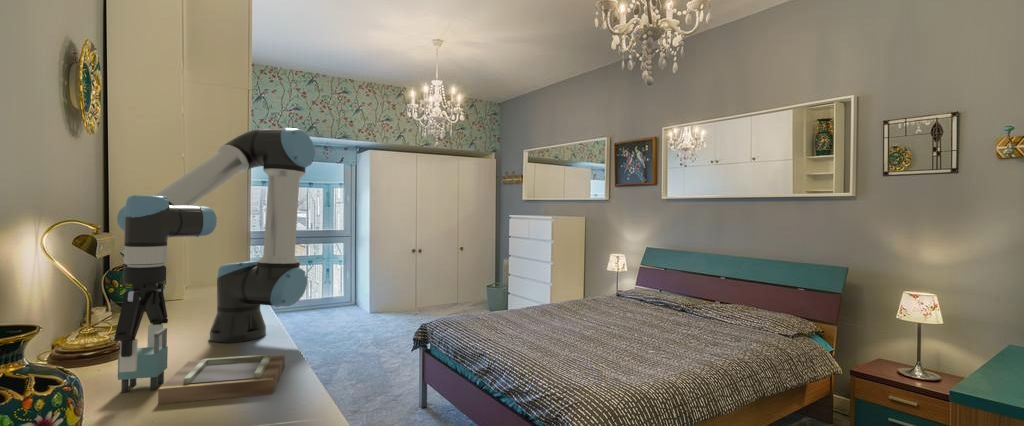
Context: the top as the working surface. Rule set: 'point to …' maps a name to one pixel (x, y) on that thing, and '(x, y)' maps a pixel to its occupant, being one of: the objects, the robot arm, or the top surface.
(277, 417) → the top surface
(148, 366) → the light blue chair
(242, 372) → the dock
